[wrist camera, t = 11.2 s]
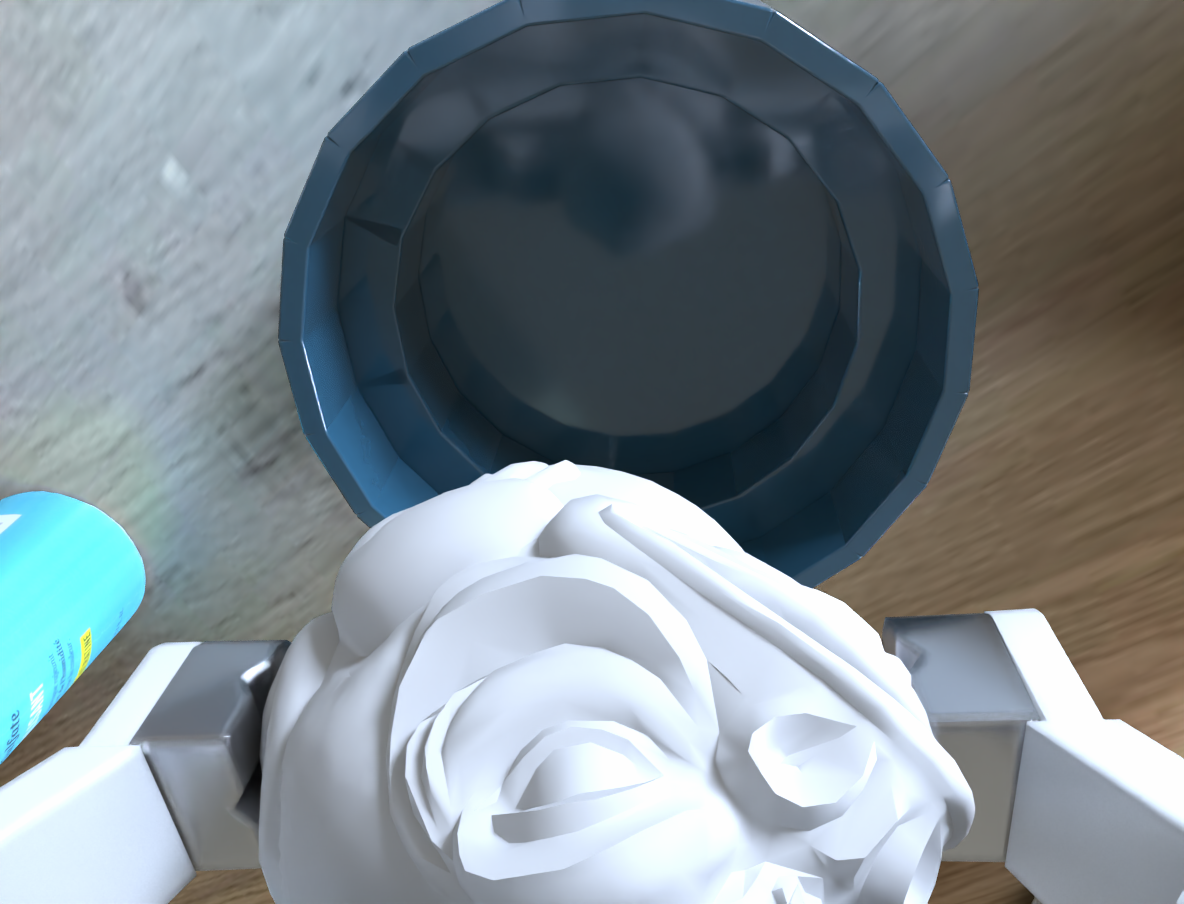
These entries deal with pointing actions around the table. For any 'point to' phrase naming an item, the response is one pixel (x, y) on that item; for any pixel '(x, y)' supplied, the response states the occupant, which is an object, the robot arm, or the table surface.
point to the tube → (57, 601)
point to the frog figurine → (593, 717)
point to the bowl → (634, 273)
